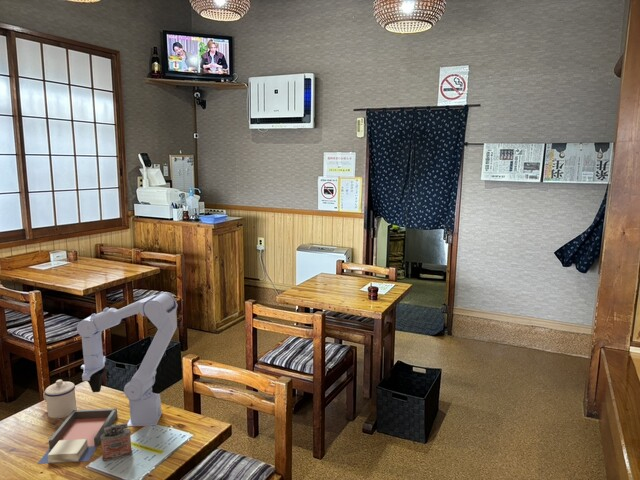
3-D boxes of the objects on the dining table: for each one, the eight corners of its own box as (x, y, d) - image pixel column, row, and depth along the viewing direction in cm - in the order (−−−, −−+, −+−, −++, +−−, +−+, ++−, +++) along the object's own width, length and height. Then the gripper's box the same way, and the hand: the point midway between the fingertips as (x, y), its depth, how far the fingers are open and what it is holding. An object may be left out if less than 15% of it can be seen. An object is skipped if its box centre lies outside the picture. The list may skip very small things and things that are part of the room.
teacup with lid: (83, 408, 165) (80, 376, 163) (61, 421, 156) (58, 388, 154) (56, 402, 169) (53, 371, 167) (34, 415, 160) (30, 383, 158)
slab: (87, 446, 142) (87, 438, 142) (77, 461, 135) (77, 453, 135) (60, 447, 141) (59, 440, 141) (48, 462, 135) (47, 454, 134)
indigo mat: (98, 447, 142) (97, 446, 142) (88, 462, 135) (88, 461, 135) (49, 449, 141) (49, 448, 141) (37, 464, 134) (37, 463, 134)
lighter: (102, 463, 135) (99, 431, 133) (102, 457, 138) (99, 425, 136) (132, 456, 138) (130, 425, 136) (132, 450, 141) (129, 419, 139)
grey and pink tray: (117, 416, 159) (116, 408, 159) (98, 447, 142) (97, 438, 142) (74, 418, 158) (73, 410, 158) (49, 449, 141) (48, 440, 141)
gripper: (89, 344, 162) (92, 381, 164) (70, 362, 147) (74, 403, 150) (110, 343, 162) (113, 380, 164) (94, 361, 148) (97, 402, 150)
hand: (96, 391), depth 157 cm, fingers closed
